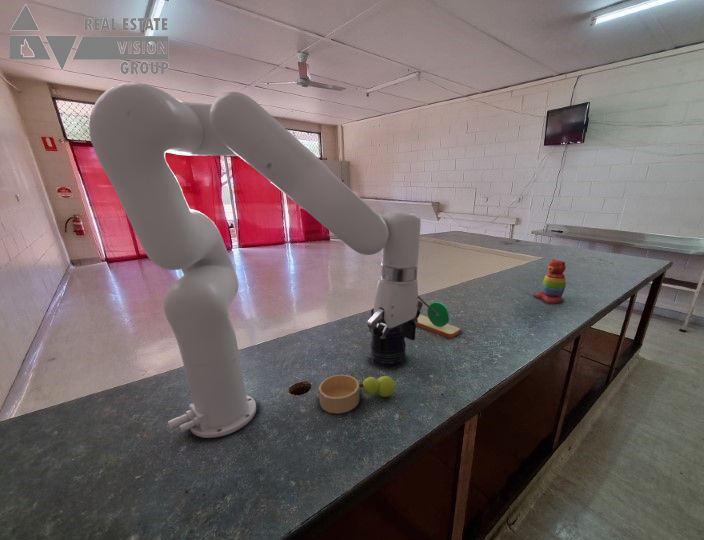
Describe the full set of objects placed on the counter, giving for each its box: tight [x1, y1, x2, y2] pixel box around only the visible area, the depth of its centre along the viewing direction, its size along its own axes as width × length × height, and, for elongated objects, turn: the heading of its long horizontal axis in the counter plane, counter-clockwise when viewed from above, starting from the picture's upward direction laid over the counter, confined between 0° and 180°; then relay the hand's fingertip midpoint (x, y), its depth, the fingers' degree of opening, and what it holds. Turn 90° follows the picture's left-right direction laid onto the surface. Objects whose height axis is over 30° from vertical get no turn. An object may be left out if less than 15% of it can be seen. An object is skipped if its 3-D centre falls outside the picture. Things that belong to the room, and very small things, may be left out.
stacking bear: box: [534, 258, 567, 304], centre depth 140 cm, size 11×10×18 cm
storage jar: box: [370, 307, 407, 369], centre depth 88 cm, size 10×10×15 cm
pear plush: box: [359, 375, 396, 398], centre depth 74 cm, size 5×5×9 cm
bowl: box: [318, 374, 360, 414], centre depth 73 cm, size 9×9×4 cm
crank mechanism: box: [415, 294, 461, 339], centre depth 111 cm, size 25×7×19 cm, turn 49°
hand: (395, 345), depth 72 cm, fingers open, 9 cm apart
